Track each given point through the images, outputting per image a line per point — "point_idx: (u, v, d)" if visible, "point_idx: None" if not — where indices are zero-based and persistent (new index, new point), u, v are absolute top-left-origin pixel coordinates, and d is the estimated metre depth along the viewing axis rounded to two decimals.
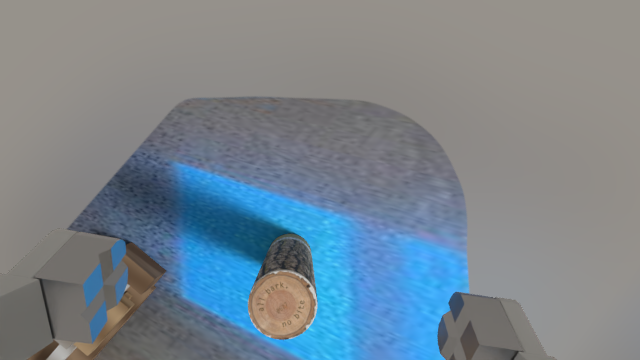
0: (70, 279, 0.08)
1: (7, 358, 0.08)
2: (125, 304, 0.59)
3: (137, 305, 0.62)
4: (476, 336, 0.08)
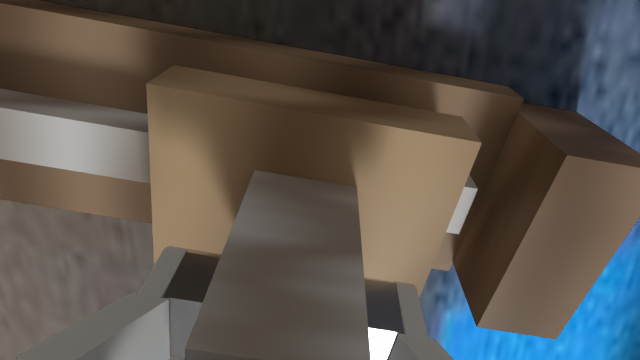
0: (196, 298, 0.08)
1: None
2: None
3: None
4: None
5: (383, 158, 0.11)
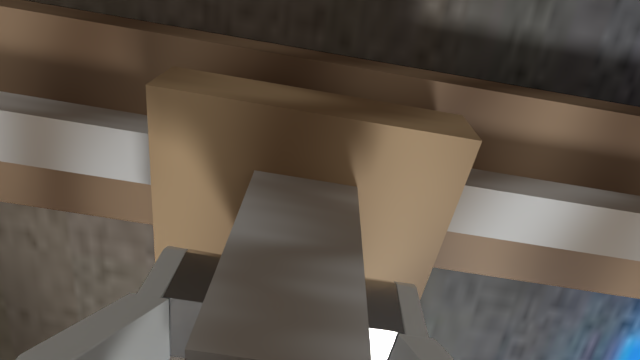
0: (196, 298, 0.08)
1: None
2: None
3: (596, 288, 0.18)
4: None
5: (383, 157, 0.11)
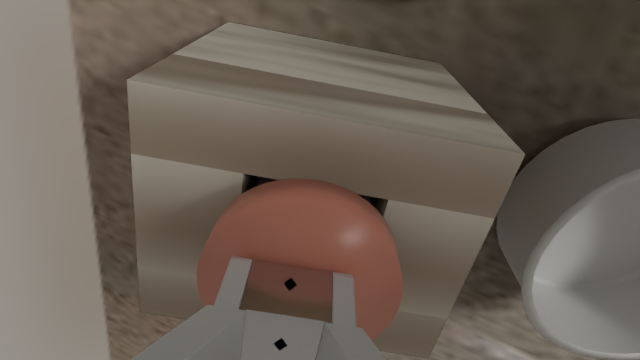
0: (271, 309, 0.08)
1: None
2: None
3: None
4: (286, 307, 0.08)
5: None
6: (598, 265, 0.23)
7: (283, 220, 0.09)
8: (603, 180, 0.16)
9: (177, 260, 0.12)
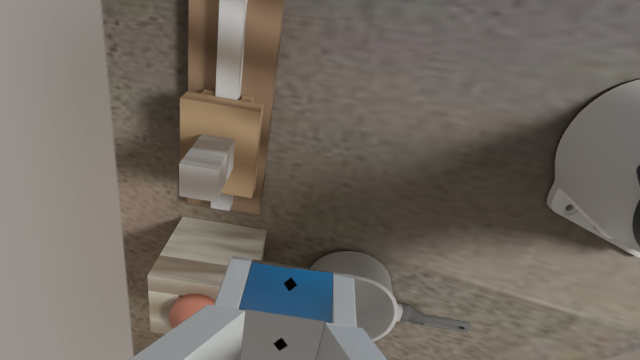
0: (271, 309, 0.08)
1: None
2: (251, 108, 0.35)
3: None
4: (286, 307, 0.08)
5: (190, 126, 0.36)
6: (355, 305, 0.52)
7: (188, 305, 0.39)
8: None
9: (161, 316, 0.41)
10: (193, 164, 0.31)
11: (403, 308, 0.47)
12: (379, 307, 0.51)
